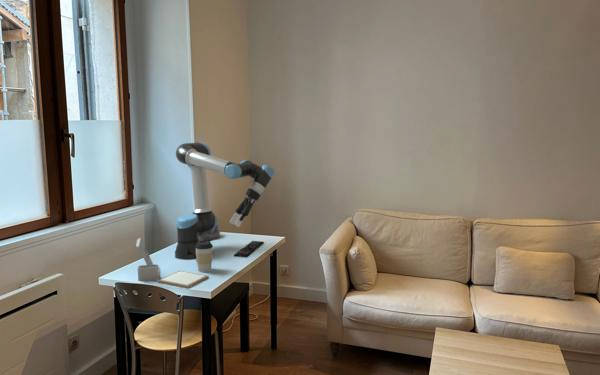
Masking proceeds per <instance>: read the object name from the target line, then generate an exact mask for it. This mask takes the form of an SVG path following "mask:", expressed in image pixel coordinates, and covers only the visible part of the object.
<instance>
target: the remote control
mask: <svg viewBox="0 0 600 375" xmlns="http://www.w3.org/2000/svg"><path fill="white" fill-rule="evenodd" d="M263 244H264V241H262V240H261V241H260V240H258V241H257V240H252V241H251V242H249V243H248V244H246V245H245V246H244V247H242V248H240V250H238V251H237V252H236V253H234V254H233V257H234V258H235V257H236V258H247V257H249V256H250V255H251V254H253V253H254V252H255V251H256V250H257V249H258V248H260V247H262V245H263Z"/></svg>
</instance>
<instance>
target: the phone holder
mask: <svg viewBox="0 0 600 375" xmlns="http://www.w3.org/2000/svg"><path fill="white" fill-rule="evenodd" d="M135 243H136V244H135V247H136V250H137V252H138V254H139V255H140V256H141V257H142V259H143V260H144V261H145V264H142V265H138V266H137V281H138V282H139V281H141V282H142V281H154V280H160V272H161V270H160V269H161V268H160V267H159V264H156V263H155V264H154V263H153V261H152V258H151V257H150V254H149V252H148V250H147V248H146V246H145V243H144V241H143V239H142V238H141V237H140V238H137V240H136V242H135Z"/></svg>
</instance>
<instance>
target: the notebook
mask: <svg viewBox="0 0 600 375" xmlns="http://www.w3.org/2000/svg"><path fill="white" fill-rule="evenodd" d="M207 279H209V275H206V274H205V275H204V274H200V273H194V272H189V271H182V270H178V271H176V272H174V273H171V274H169V275H166V276H165V277H162V278H159V279H157V284H164V285H168V286H174V287H180V288H184V289H190V288H191V286H192V287H193V285H194V286H196V285H197V284H200V283H201V282H203V281H205V280H207ZM195 284H196V285H195Z"/></svg>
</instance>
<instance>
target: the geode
mask: <svg viewBox="0 0 600 375" xmlns="http://www.w3.org/2000/svg"><path fill="white" fill-rule="evenodd" d="M220 235H221V231H220V229H219V225H218V224H217V225H216V227H215V228H214V229H213V230H212V231H210V232H208V233H203V234H200V235H198V242H202V241H210V240H214V239H216V238H218V237H220Z"/></svg>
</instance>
